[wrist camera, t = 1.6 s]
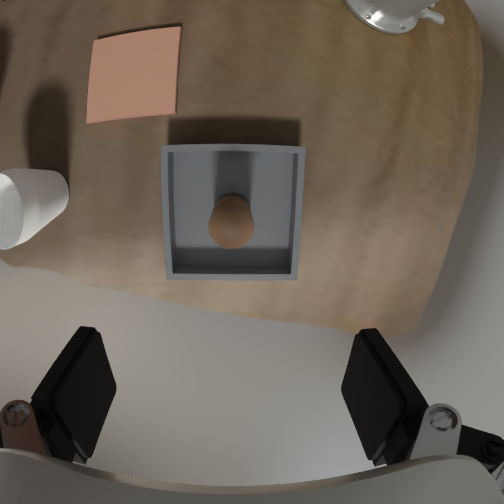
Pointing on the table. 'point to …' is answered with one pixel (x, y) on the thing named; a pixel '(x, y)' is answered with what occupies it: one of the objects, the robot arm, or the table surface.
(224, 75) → the table surface
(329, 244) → the table surface
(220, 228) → the walnut peg
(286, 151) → the bin
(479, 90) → the table surface
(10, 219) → the cup
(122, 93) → the terracotta board
